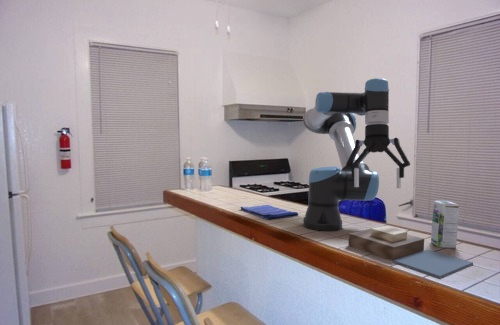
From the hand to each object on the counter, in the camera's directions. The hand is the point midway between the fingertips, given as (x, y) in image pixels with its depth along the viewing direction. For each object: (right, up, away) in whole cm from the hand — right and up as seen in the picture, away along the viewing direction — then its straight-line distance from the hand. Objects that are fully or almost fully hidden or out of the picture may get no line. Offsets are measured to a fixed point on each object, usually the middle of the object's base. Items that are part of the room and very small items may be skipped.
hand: (376, 187), depth 114 cm
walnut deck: (0, -19, -6) cm, 20 cm away
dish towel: (-34, -15, +43) cm, 57 cm away
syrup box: (+21, -19, -2) cm, 29 cm away
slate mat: (+9, -20, -19) cm, 29 cm away
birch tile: (+1, -15, -7) cm, 17 cm away
